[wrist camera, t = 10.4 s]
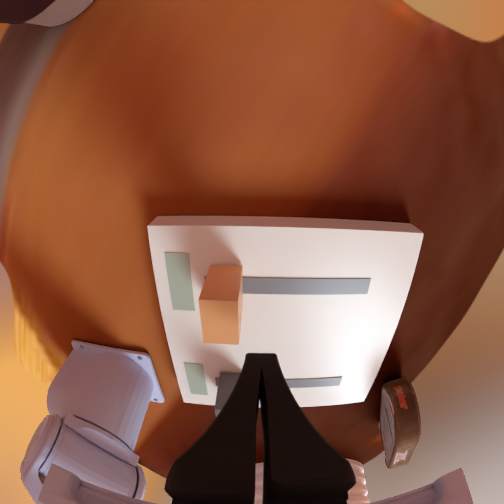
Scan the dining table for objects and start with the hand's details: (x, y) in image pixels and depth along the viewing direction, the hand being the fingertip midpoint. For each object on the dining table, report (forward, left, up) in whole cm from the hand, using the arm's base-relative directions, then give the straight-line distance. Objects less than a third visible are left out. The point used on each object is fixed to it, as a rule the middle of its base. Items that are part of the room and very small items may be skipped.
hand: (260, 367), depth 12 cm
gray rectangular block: (-2, -9, -6) cm, 12 cm away
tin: (+16, -17, -9) cm, 25 cm away
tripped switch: (-2, +1, -6) cm, 7 cm away
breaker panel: (+2, -4, -9) cm, 10 cm away
